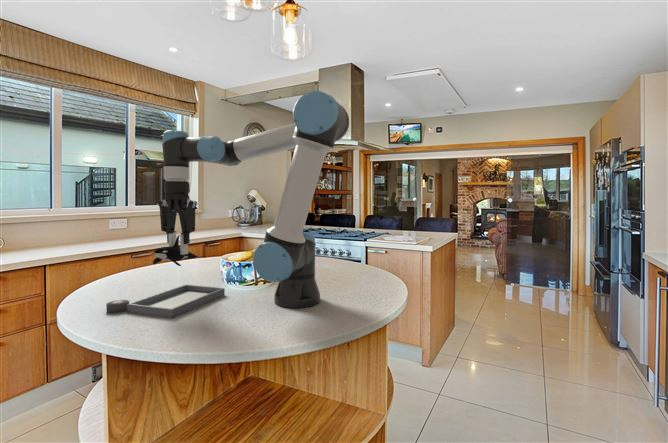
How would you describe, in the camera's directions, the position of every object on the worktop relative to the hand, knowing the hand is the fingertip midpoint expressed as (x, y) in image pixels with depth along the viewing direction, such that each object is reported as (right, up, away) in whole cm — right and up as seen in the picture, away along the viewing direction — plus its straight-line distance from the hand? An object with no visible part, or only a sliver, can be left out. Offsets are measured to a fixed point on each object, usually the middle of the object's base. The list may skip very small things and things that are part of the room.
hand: (178, 253), depth 117 cm
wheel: (-16, -17, -6) cm, 24 cm away
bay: (0, -16, +1) cm, 16 cm away
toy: (0, -3, 0) cm, 3 cm away
